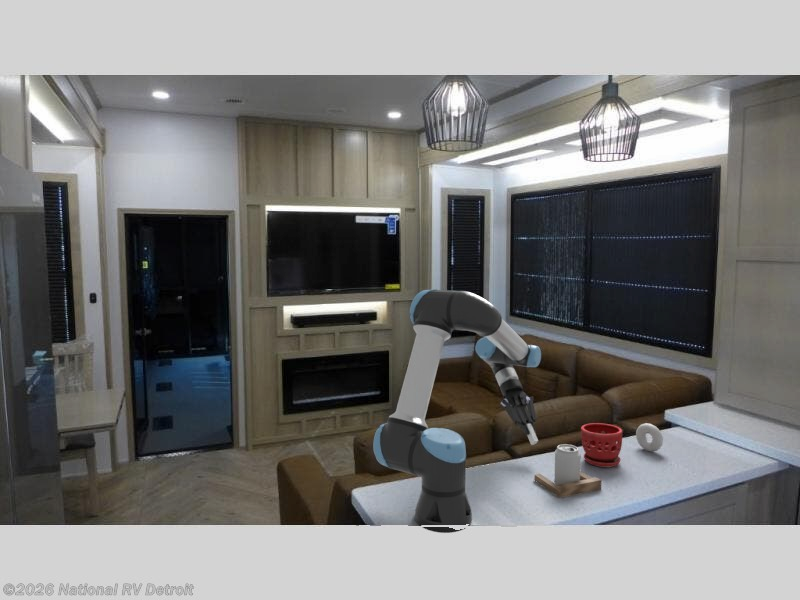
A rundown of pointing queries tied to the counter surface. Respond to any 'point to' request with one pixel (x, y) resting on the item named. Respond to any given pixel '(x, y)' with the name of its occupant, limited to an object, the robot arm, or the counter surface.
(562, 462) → the can
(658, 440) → the donut
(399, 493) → the counter surface
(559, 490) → the walnut frame
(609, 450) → the plant pot
